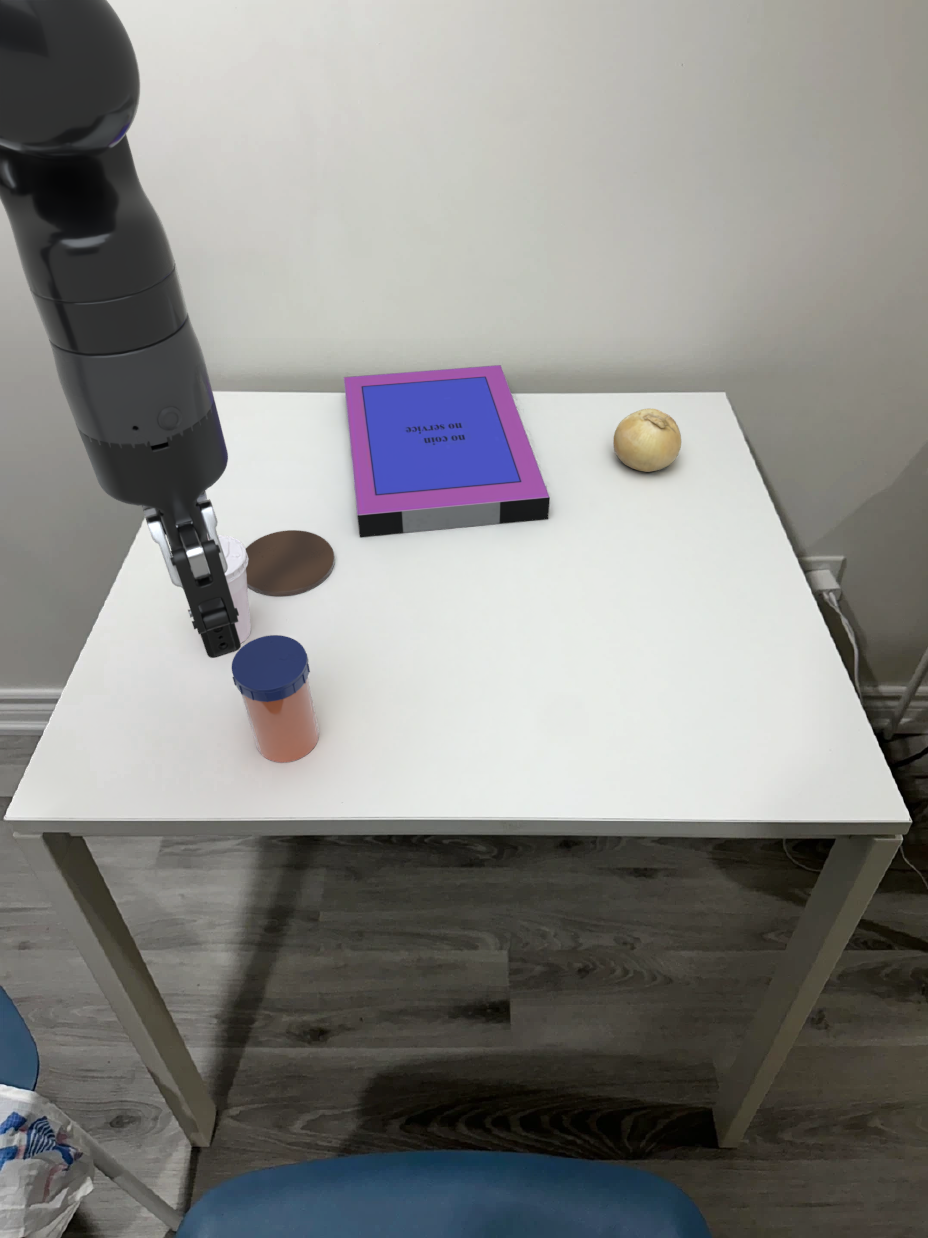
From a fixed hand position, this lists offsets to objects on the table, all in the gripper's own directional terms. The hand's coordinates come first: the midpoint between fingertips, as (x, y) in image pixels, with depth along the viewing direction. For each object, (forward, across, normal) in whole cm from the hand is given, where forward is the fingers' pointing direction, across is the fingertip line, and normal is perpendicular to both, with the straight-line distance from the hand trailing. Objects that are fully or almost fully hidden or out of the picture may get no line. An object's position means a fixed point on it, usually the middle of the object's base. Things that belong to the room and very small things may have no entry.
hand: (209, 610), depth 59 cm
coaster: (+18, -24, +10) cm, 32 cm away
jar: (+18, -2, +3) cm, 18 cm away
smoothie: (+18, -16, +2) cm, 25 cm away
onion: (+19, -24, +54) cm, 62 cm away
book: (+19, -36, +32) cm, 52 cm away
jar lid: (+9, -2, +3) cm, 10 cm away
